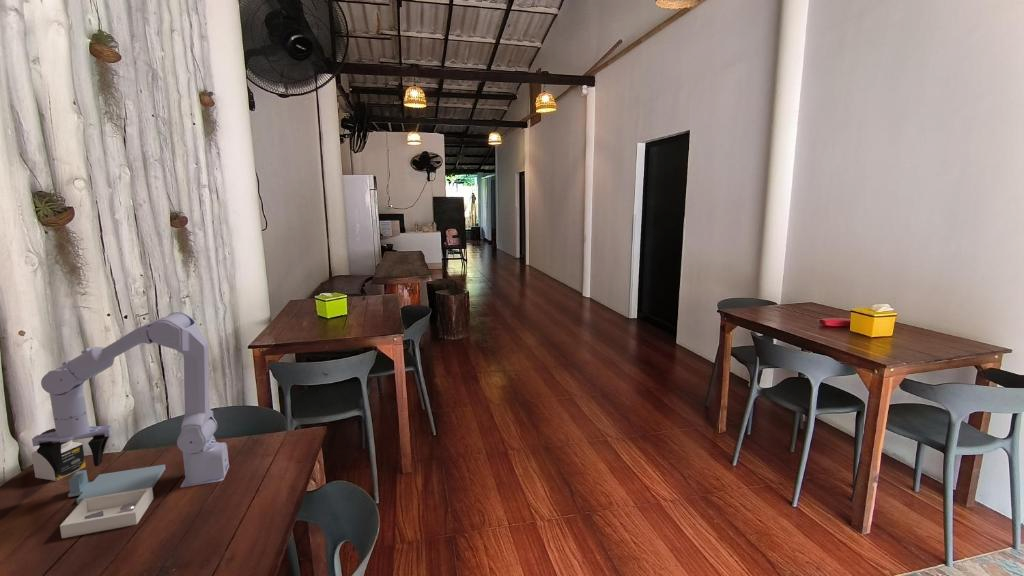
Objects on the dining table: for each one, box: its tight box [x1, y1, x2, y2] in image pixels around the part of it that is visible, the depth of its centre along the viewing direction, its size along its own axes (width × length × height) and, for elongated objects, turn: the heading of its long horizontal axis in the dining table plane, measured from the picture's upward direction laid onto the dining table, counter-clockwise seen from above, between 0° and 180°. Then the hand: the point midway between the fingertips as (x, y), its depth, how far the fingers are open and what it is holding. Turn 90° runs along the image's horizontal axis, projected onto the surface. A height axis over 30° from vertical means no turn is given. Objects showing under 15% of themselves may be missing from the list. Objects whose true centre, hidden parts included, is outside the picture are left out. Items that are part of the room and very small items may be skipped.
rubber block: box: [85, 511, 104, 519], centre depth 102 cm, size 3×2×2 cm, turn 131°
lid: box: [67, 464, 166, 505], centre depth 115 cm, size 17×11×5 cm, turn 111°
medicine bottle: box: [31, 427, 86, 482], centre depth 121 cm, size 7×7×12 cm
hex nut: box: [120, 503, 136, 513], centre depth 105 cm, size 3×3×1 cm
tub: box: [59, 487, 154, 539], centre depth 103 cm, size 13×10×4 cm
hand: (78, 467), depth 112 cm, fingers open, 7 cm apart
